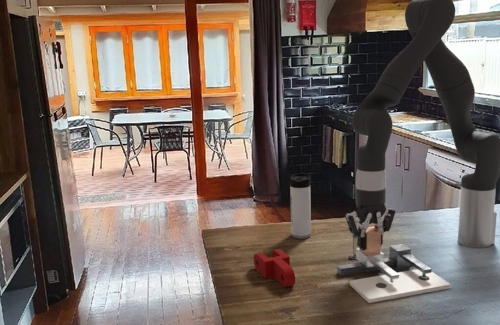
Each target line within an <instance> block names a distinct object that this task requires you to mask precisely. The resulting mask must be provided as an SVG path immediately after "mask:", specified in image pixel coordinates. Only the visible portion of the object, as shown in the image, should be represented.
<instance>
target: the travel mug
mask: <svg viewBox="0 0 500 325" xmlns="http://www.w3.org/2000/svg"><path fill="white" fill-rule="evenodd" d="M289 178H290V185H289V186H290V187H289V189H290V191H289V192H290V194H289V195H290V224H291V225H290V228H291V229H290V230H291V232H290V234H291V235H290V236H291V237H292V238H294V239H297V238H298V240H303V239H304V240H305V239H308V237H309V238H310V237H311V236H312V222H311V221H312V220H311V219H312V217H311V216H312V215H311V214H312V213H311V202H312V201H311V176H310V175H309V174H307V173H305V172H299V173H295V174H293V175H291V176H290V177H289Z"/></svg>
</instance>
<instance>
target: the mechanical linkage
mask: <svg viewBox="0 0 500 325" xmlns="http://www.w3.org/2000/svg"><path fill="white" fill-rule="evenodd" d="M290 258H291V257H290V256H289V255H288V254H287V253H285V252H284V251H283V250H282V249H281V248H278V249H273V250H271V257H268V256H267V255H266V254H264V253H263V252H259V253H254V254H253V263H254V268H255V269H256V271H257V272H258V273H259V274H260V276H262V277H263V278H264V279H266V280H267V279H271V278H274V279H275V280H276V281H277V282H278V283H279V284H280V285H282V287H284V288H288V287H293V286H294V285H296V274H295V271H294V269H293V267H292V266H291V264H290V263H291V262H290V261H291V259H290Z"/></svg>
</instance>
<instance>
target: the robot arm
mask: <svg viewBox="0 0 500 325" xmlns="http://www.w3.org/2000/svg"><path fill="white" fill-rule="evenodd" d="M455 17H456V6H455V4H454V1H453V0H411V1H410V2H409V3H408V4H407V6H406V7H405V11H404V22H405V25H406V28H407V30H408V32H409V34H410V36H411V37H412V39H411V41H410V42H409V43H408V44H407V45H406V46H405V47H404V48H403V50H401V51H400V52H399V53H398V54H397V55H396V56H395V57H394V58H393V59H392V60H391V61H390V62H389V63H388V65H387V67H386V68H385V69H384V70H383V72H382V73H381V75H380V77H379V79H378V81H377V82H376V84H375V87H374V88H373V90H372V91H371V92H369V94H368V95H367V96H365V98H364V99H363V100H362V101H361V103H360V104H359V105H358V106H357V107H356V108H355V111H354V112H353V115H352V119H351V127H352V129H353V131H354V132H355V133H357V134H359V135H362V136H367V140H366V144H363V145H361V146H359V147H358V149H357V153H356V174H355V205H356V206H355V208H354V211H352V212H350V213H345V214H344V217H345V221H346V223H347V226H348V229H349V232H350V234H352V235H353V236H354V235H355V236H357V246H358V248H360V249H361V250H365V237H364V236H365V233H366V229H368V227H369V225H371V224H373V226H374V227H375V228H377V229H378V230H380V231H381V246H382V245H383V243H384V240H383V238H384V233H386V232H390V230H391V228H392V226H393V225H392V224H393V220H394V218H395V215H396V210H395V209H393V208H391V207H386V198H387V197H386V192H387V190H386V188H387V174H386V153H387V149H388V146H389V142H390V139H391V136H392V132H393V119H392V116H391V115H390V113H389V112H388V111H387V110H386V109H388V108H390V107H394V106H395V107H396V106H397V105H398V104H399V102H400V101H401V99H402V97H403V96H404V94H405V93H406V90H407V89H408V86H409V85H410V83H411V81H412V80H413V78H414V76H415V74H416V73H417V72H418V70H419V68H420V67H421V66H422V65H423V63H425V66H426V68H427V71H428V73H429V75H430V78H431V80H432V83H433V86H434V89H435V91H436V94H437V96H438V98H439V101H440V103H441V106H442V108H443V111H444V113H445V116H446V119H447V121H448V125H449V128H450V131H451V135H452V140H453V143H454V147H455V150H456V153H457V155H458V157H459V158H460V159H461V160H462V161H465V162H467V163H472V164H475V168H474V172H473V173H467V174H464V175H463V176H462V177H461V181H460V195H459V196H460V198H459V215H458V228H457V229H458V230H457V232H458V234H457V241H458V243H460V244H461V245H463V246H467V247H469V248H477V249H478V248H479V249H481V248H487V247H490V246H492V244H495V243H496V229H497V228H496V226H497V212H496V211H495V204H496V191H497V190H496V187H497V183H498V180H499V177H500V136H498V135H497V134H495V133H491V132H483V131H478V130H477V129H476V127H475V126H474V123H473V119H472V117H471V116H472V115H471V111H472V107H473V104H474V101H475V96H476V94H475V93H476V89H475V86H474V83H473V80H472V78H471V75H470V72H469V70H468V68H467V67H466V65H465V64H464V62H463V61H462V60H461V59H460V58H459V57H458V56H457V55H456V54H455V53H454V52H452V50H450V48H449V47H448V46H447V45H446V44H445V42H444V40H443V39H442V38H443V37H444V35H445V34H446V33H447V32H448V30H449V29H450V27H451V26H452V24H453V22H454V20H455ZM382 217H383V219H382ZM357 218H358V220H356V219H357ZM356 221H357V224H356Z"/></svg>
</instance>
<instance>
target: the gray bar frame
mask: <svg viewBox="0 0 500 325" xmlns="http://www.w3.org/2000/svg"><path fill="white" fill-rule="evenodd" d="M411 252H412V248H410V247H409V246H407V245H406V244H403V243H399V244H392V245H389V252H388V253H389V257H386V258H385V257H384V264H386V265H387V266H388V267H390V268H391V269H393V268H396V269H402V268H409V267H411V266H412V267H414V268H415V269H418V270H419V271H421V272H422V276H423V277H426V274H427V273H431V272H432V270H433V269H432V268H431V267H429V266H428V265H426V264H425V263H423V262H422V261H420V260H419V259H417V258H416V257H415V256H414V255H413V254H412V253H411ZM336 270H337V274H338V275H339V276H340V277H342V276H343V277H344V276H350V275H355V274H362V273H369V272H373V271H380V270H379V269H378V268H376V267H375V266H372V267H366V266H364V265H363V264H362V263H361V262H360V261H358V262H354V263H348V264H341V265H337V269H336Z"/></svg>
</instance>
